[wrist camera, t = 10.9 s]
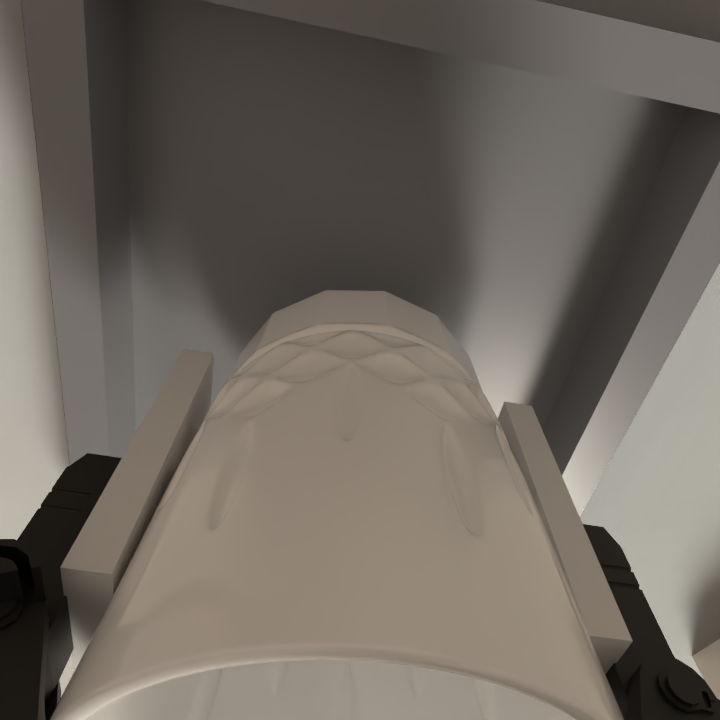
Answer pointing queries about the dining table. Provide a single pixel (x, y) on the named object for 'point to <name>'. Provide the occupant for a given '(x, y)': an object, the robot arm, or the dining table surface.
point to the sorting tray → (374, 192)
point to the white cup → (344, 547)
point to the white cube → (710, 666)
